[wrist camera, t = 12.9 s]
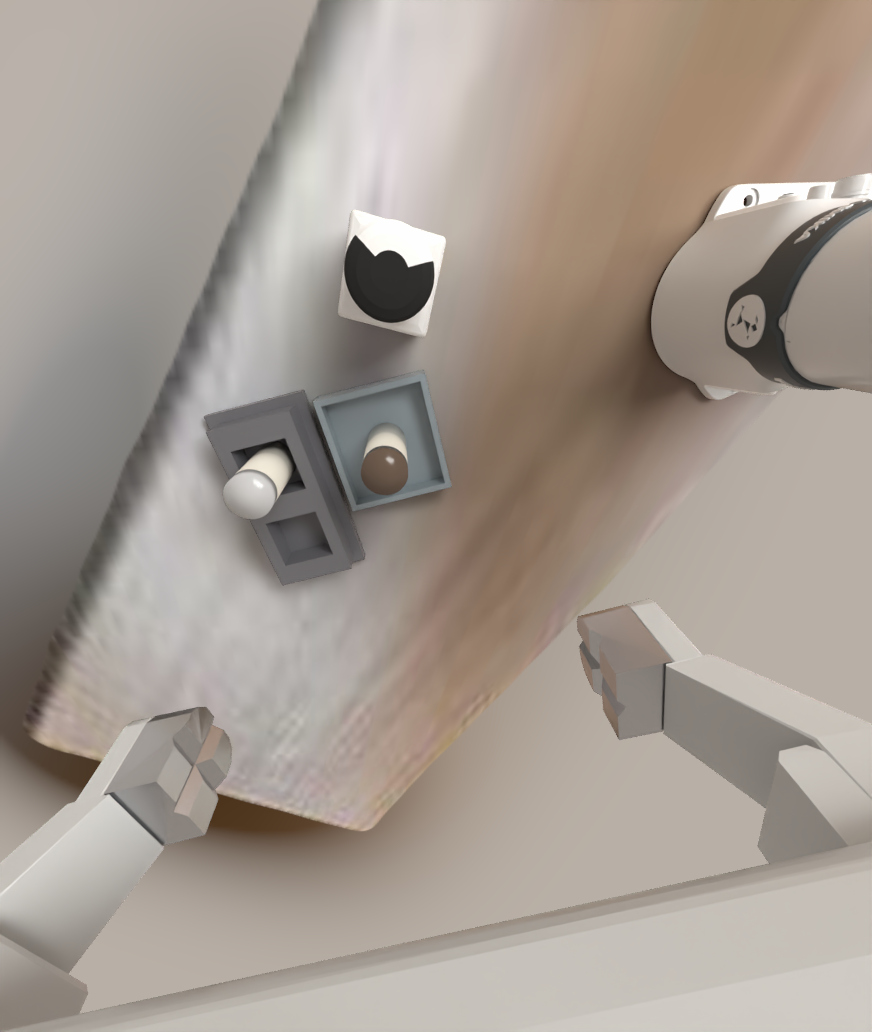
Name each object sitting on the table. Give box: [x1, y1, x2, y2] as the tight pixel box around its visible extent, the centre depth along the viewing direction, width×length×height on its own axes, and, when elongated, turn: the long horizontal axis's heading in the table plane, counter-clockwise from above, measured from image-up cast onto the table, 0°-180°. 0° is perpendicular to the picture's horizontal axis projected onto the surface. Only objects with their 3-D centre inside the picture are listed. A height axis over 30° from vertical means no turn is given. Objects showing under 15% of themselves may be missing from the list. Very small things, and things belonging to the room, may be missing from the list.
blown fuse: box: [361, 423, 408, 495], centre depth 40 cm, size 4×4×10 cm
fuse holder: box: [204, 390, 365, 585], centre depth 44 cm, size 20×10×4 cm, turn 13°
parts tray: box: [313, 370, 452, 511], centre depth 43 cm, size 11×12×2 cm
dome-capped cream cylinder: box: [223, 442, 297, 519], centre depth 39 cm, size 4×4×10 cm
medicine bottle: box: [338, 210, 446, 338], centre depth 33 cm, size 7×7×12 cm
